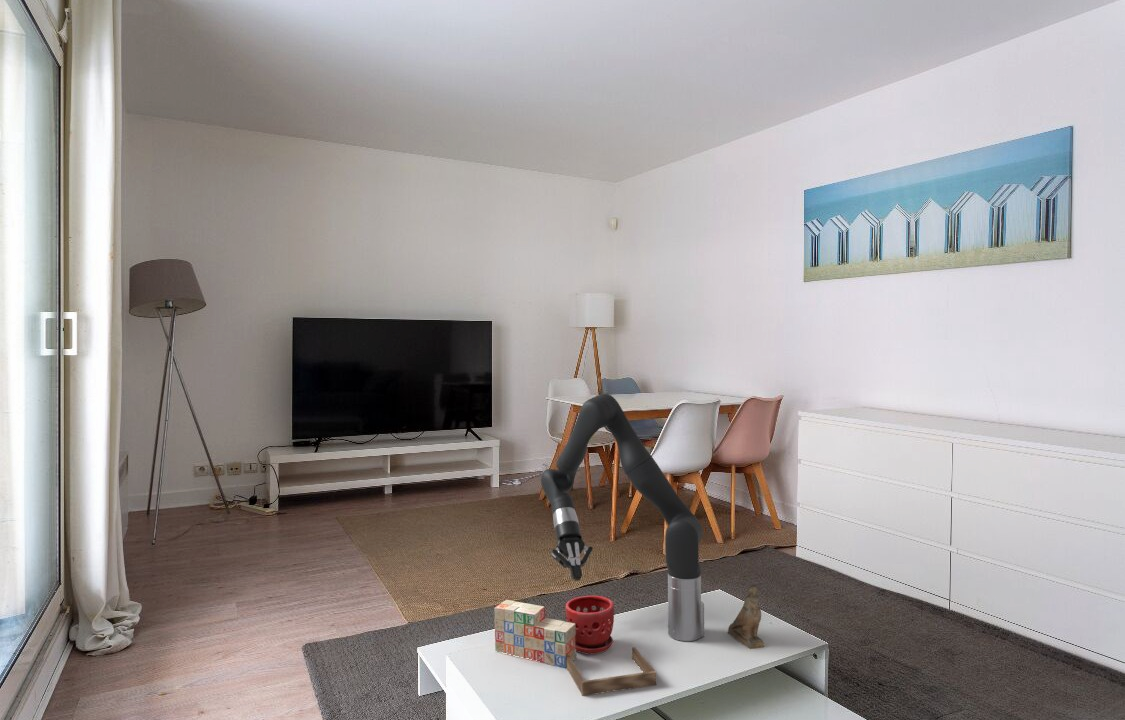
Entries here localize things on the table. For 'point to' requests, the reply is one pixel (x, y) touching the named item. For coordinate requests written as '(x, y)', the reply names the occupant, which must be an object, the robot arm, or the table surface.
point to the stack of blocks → (533, 633)
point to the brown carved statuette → (748, 621)
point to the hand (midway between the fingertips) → (577, 579)
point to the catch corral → (614, 682)
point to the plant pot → (591, 623)
